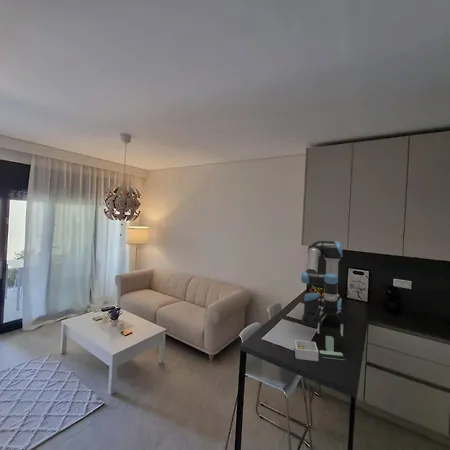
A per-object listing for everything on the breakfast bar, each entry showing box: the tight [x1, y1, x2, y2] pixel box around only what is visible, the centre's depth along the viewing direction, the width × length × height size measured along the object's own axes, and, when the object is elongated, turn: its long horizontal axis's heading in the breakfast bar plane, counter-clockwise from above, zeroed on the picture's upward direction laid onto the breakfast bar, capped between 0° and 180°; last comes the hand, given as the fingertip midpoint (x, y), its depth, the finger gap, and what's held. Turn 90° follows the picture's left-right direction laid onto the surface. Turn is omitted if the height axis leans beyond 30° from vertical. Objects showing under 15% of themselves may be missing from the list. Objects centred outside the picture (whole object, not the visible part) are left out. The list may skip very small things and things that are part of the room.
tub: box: [294, 339, 319, 362], centre depth 147 cm, size 12×12×6 cm
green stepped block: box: [319, 335, 345, 361], centre depth 148 cm, size 18×13×8 cm
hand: (329, 333), depth 155 cm, fingers open, 13 cm apart
